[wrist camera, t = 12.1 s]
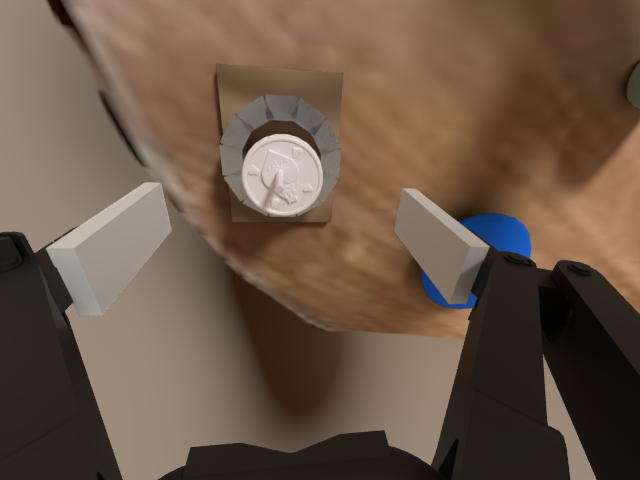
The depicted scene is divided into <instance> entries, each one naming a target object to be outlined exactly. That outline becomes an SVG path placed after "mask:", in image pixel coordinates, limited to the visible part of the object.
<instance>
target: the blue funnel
mask: <svg viewBox="0 0 640 480" xmlns="http://www.w3.org/2000/svg"><path fill="white" fill-rule="evenodd" d="M459 223H460V224H461V225H463V226H465V227H467V228H469V229H471V230H472V231H474V232H475V233H476V234H477V235H478V236H480V237H481V238H483V239H484V240H485V241H487V242H488V243H489V244H491V245H492V246H493V247H494V248H496V249H497V250H498V251H500V252H501V251H509V252H514V253H518V254H521V255H523V256H525V257H527V258H529V259H530V253H531V241H530V235H529V232H528V231H527V229H526V228H525V226H524V224H522V223H521V222H520V221H518V220H517V219H515V218H514V217H510V216H506V215H502V214H479V215H475V216H471V217H468V218H465V219H463V220H461V221H459ZM421 274H422V283H423V287H424V289H425V291H426V294H427V296H429V297H430V298H431V299H432V300H433V301H434V302H435V303H437V304H439V305H441V306H444V307H449V308H456V309H465V308H473V306H474V304H475V302H476V299H477V298H476V296H475V295H474V294H473V293H472V292H471V293H470V296H469V298H468V300H467V303H466V304H448V302H447V301H446V300H445V298H444V297H443V296H442V294H441V293H440V292H439V290H438V289H437V288H436V286H435V285H434V284H433V282H432V281H431V280H430V278H429V277H428V276H427V274H426V273H425V272H424V270H423V269H421Z"/></svg>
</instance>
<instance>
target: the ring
mask: <svg viewBox="0 0 640 480" xmlns="http://www.w3.org/2000/svg"><path fill="white" fill-rule="evenodd" d="M235 112H236V113H234V114H233V115H232V117H231V119H230V121H229V124H228V126H227V128H226V130H225V132H224V134H223V136H222V138H221V141H220V143H221V144H220V145H219V147H220V156H221V165H222V174H223V175H225V177H224V179H225V180H226V182H227V183H228V185H229V186H230V187H231V189H232V190H233V192H234V193H235V195H236V196H237V197H238V199H239V200H240V202H241V201H242V200H244V201H243V204H245V205H247V206H249V207H251V208H252V209H254V210H256V211H258V212H260V213H262V214H264V215H266V216H267V215H268V214H269V216H270V217H296V214H294V215H290V216H277V215H273V214H270V213H267V212H265V211H263V210H261V209H260V208H258V207H257V206H256V205H255V204H254V203H253V202H252V201H251V200H250V198H249V197H248V195H247V194H246V192H245V189H244V187H243V183H242V167H243V163H244V159H245V157H246V155H247V149H246V144H247V142H248V140H249V138H250V136H251V134H252V132H253V130H254V129H256V128H258V127H260V126H261V125H263V124H265V123H266V122H268V121H270V120H280V121H294V122H295V123H296V124H298V125H299V126H301V127H302V128H304V129H305V130H307V131H308V132H310V134H311V136H312V138H313V140H314V142H315V144H316V146H317V156H318V158H319V160H320V163H321V167H322V171H323V183H322V188H321V191H320V193H319V195H318V197H317V199H316V200H315V201H314V203H313V204H312V205H311V206H310V207H308V208H307V209H306V210H304V211H302V212H300V213H298V214H297V215H298V216H299V215H301V214H303V213H305V212H307V211H309V210H311V209H313V208H315V207H317V206H319V205H320V204H321V202H324V200H325V199H326V197H327V196H328V194H329V193H330V191H331V190H332V188H333V187H334V185H335V184H336V183H337V181H338V180H337V178H339V170H340V159H341V149H340V147H341V146H340V144H339V141H338V139H337V137H336V135H335V132H334V130H333V128H332V126H331V123H330V121H329V119H328V118H326V116H325V115H324V114H322V113H321V112H320V111H318V110H317V109H315V108H314V107H313V106H311V105H310V104H308V103H307V102H306V101H304V100H303V99H302V98H299V97H297V96H283V95H262V96H261V97H259V98H257V99H256V100H254V101H252V102H251V103H249V104H247V105H246V106H244V107H242V108H240V109H239V110H237V111H235ZM320 201H321V202H320Z"/></svg>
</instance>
